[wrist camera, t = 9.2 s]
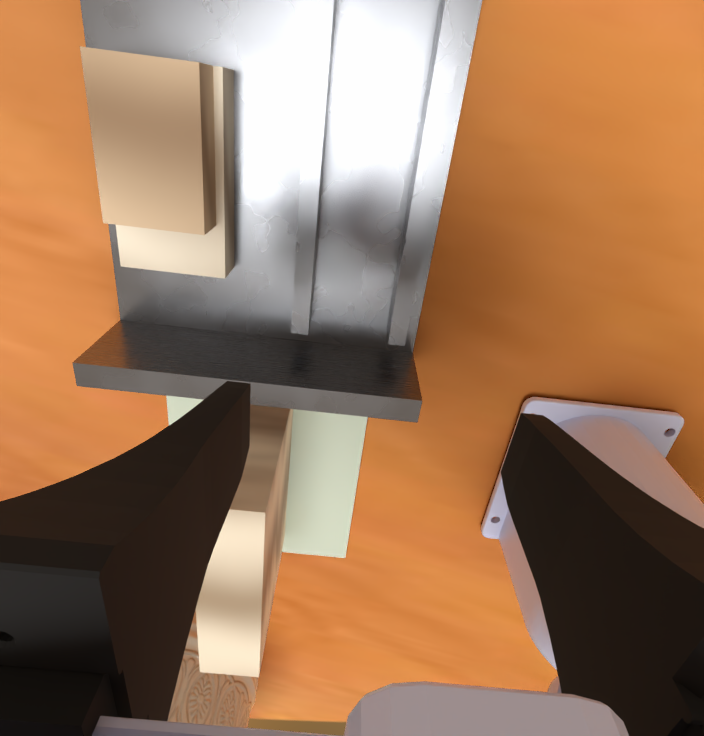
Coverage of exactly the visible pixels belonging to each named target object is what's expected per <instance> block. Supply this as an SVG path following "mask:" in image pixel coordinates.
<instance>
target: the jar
mask: <svg viewBox="0 0 704 736" xmlns="http://www.w3.org/2000/svg"><path fill="white" fill-rule="evenodd" d="M257 687H258V677H250V676H238V675H227V674H215V673H204V672H200V667H199V651H198V636H197V621H196V610H195V613H194V617H193V621H192V625H191V628H190V632H189V636H188V639H187V643H186V647H185V651H184V655H183V659H182V663H181V667H180V671H179V675H178V679H177V683H176V687H175V691H174V695H173V699H172V703H171V708H170V712H169V716H168V720H167V721H169V722H182V723H194V724H206V725H218V726H230V727H242V728H247V727H248V722H249V716H250V712H251V710H252V708H253V706H254V703H255V699H256V691H257Z"/></svg>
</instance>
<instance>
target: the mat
mask: <svg viewBox="0 0 704 736" xmlns="http://www.w3.org/2000/svg"><path fill="white" fill-rule="evenodd" d="M201 401H203V399H194V398H185V397H176V396H167V408H168V420H169V425H171V424H172V423H174V422H175V421H177V420H178V419H179V418H181V417H182V416H183V415H185V414H186V413H187V412H189V411H190V410H191V409H193V408H194V407H195V406H196V405H198V404H199V403H200V402H201ZM367 418H368V417H362V416H353V415H343V414H334V413H325V412H315V411H306V410H297V409H293V422H292V437H291V452H290V466H289V481H288V496H287V511H286V526H285V537H284V543H283V548H282V552H288V553H299V554H309V555H319V556H330V557H340V558H345V557H346V551H347V544H348V538H349V532H350V525H351V519H352V513H353V506H354V500H355V494H356V487H357V481H358V475H359V468H360V462H361V456H362V449H363V443H364V437H365V430H366V424H367Z"/></svg>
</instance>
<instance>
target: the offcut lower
mask: <svg viewBox="0 0 704 736" xmlns="http://www.w3.org/2000/svg"><path fill="white" fill-rule="evenodd" d="M213 83H214V132H215V181H216V226H215V227H214V228H213V229H211V230H210V231H209V232H208V233H207V234H205V235H199V234H190V233H182V232H174V231H165V230H157V229H149V228H140V227H132V226H124V225H116V232H117V240H118V248H119V257H120V265H121V267H130V268H138V269H147V270H155V271H164V272H172V273H181V274H190V275H198V276H207V277H215V278H224V279H225V278H226V277H227V276H228V275H229V273H230V272H231V271H232V269H233V268H234V70H232V69H228V68H225V67H219V66H213Z"/></svg>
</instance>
